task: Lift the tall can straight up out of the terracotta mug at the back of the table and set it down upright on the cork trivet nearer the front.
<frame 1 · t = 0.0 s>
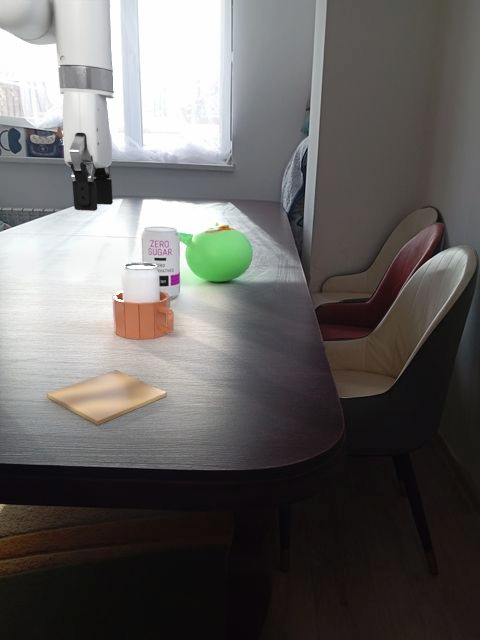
hand: (94, 206, 80), 22 cm above the table, tool pointing down, fingers open, 9 cm apart
trivet: (107, 396, 69), on the table
green teapot: (217, 280, 134), on the table
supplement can: (161, 296, 118), on the table
mug: (142, 330, 94), on the table
can: (142, 331, 94), resting in mug
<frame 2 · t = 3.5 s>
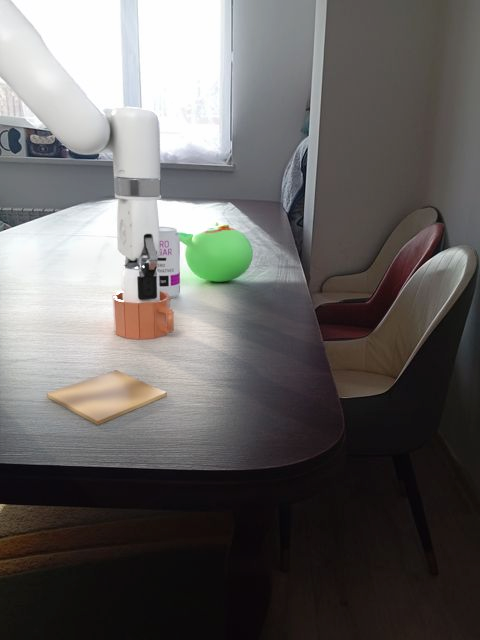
hand: (141, 292, 92), 7 cm above the table, tool pointing down, fingers closed on can, 6 cm apart
can: (142, 331, 94), resting in mug, touching gripper
everything else where it was.
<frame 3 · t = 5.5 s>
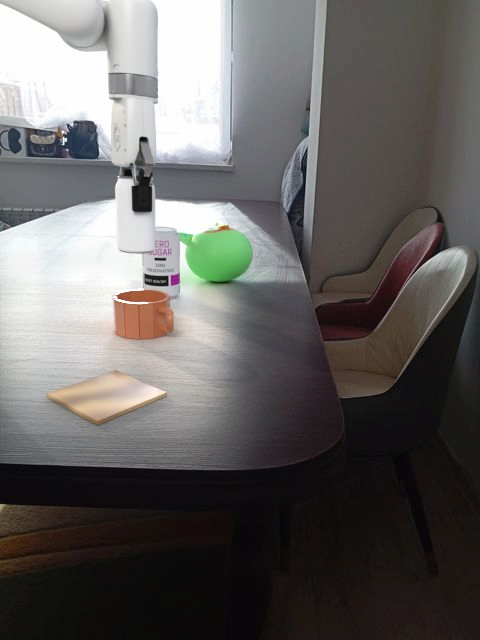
hand: (135, 208, 86), 22 cm above the table, tool pointing down, fingers closed on can, 6 cm apart
can: (136, 251, 89), point 15 cm above the table, touching gripper
everything else where it was.
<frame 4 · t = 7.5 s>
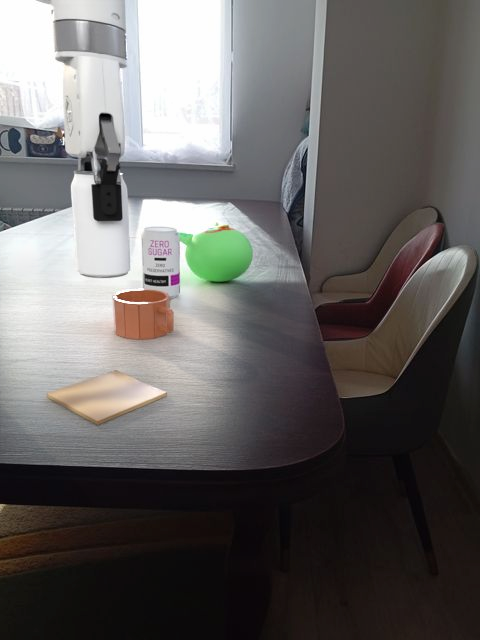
hand: (100, 215, 62), 23 cm above the table, tool pointing down, fingers closed on can, 6 cm apart
can: (104, 274, 65), point 16 cm above the table, touching gripper
everything else where it was.
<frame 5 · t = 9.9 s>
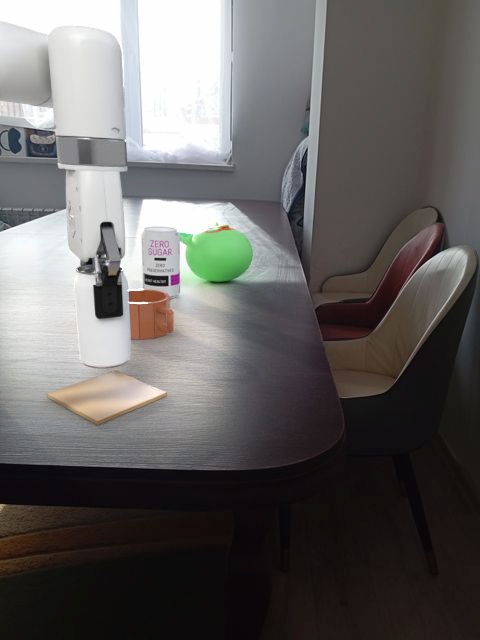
hand: (102, 307, 64), 12 cm above the table, tool pointing down, fingers closed on can, 6 cm apart
can: (105, 361, 67), point 5 cm above the table, touching gripper
everything else where it was.
when the fingers open (8 cm above the table, at t = 11.6 s): can stays where it is, resting on trivet.
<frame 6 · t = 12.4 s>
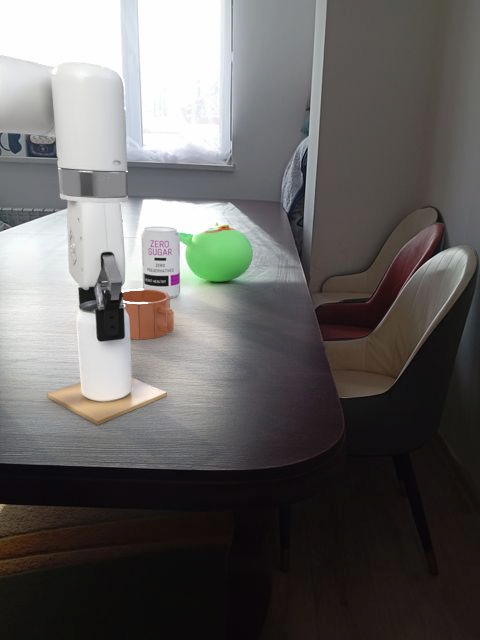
hand: (101, 327, 65), 10 cm above the table, tool pointing down, fingers open, 9 cm apart
can: (107, 393, 68), resting on trivet
everything else where it was.
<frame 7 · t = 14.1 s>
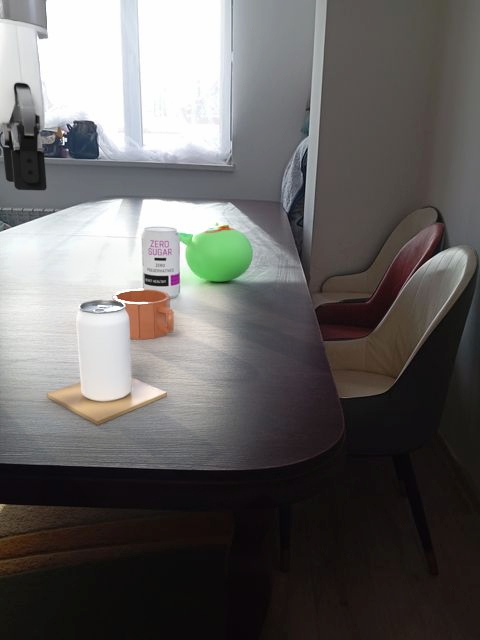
hand: (25, 185, 60), 26 cm above the table, tool pointing down, fingers open, 9 cm apart
nothing on the table moved.
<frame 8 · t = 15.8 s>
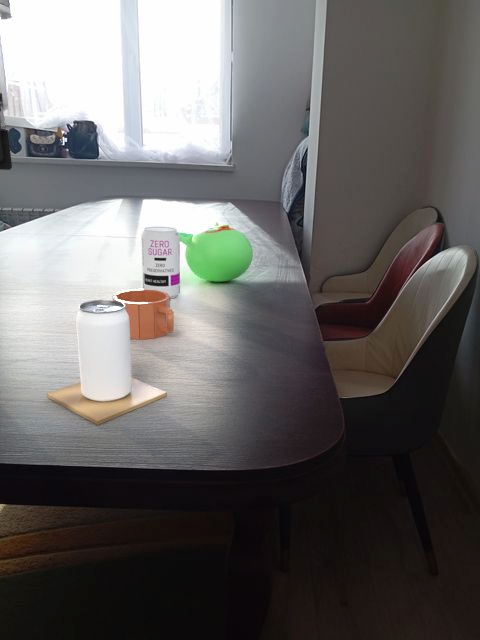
nothing on the table moved.
at the end: can inside the target area on the trivet (0.1 cm from its centre), point 0.4 cm above the trivet's base; can tilted 0°; can touching trivet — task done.
